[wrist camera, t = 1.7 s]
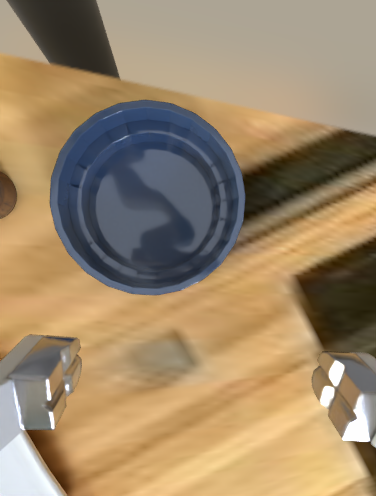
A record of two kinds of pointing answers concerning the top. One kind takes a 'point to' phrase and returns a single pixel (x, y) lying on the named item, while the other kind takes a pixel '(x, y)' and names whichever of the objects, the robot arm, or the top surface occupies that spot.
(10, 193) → the mortar and pestle
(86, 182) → the bowl
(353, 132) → the top surface
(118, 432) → the top surface
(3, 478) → the square plate
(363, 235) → the top surface
